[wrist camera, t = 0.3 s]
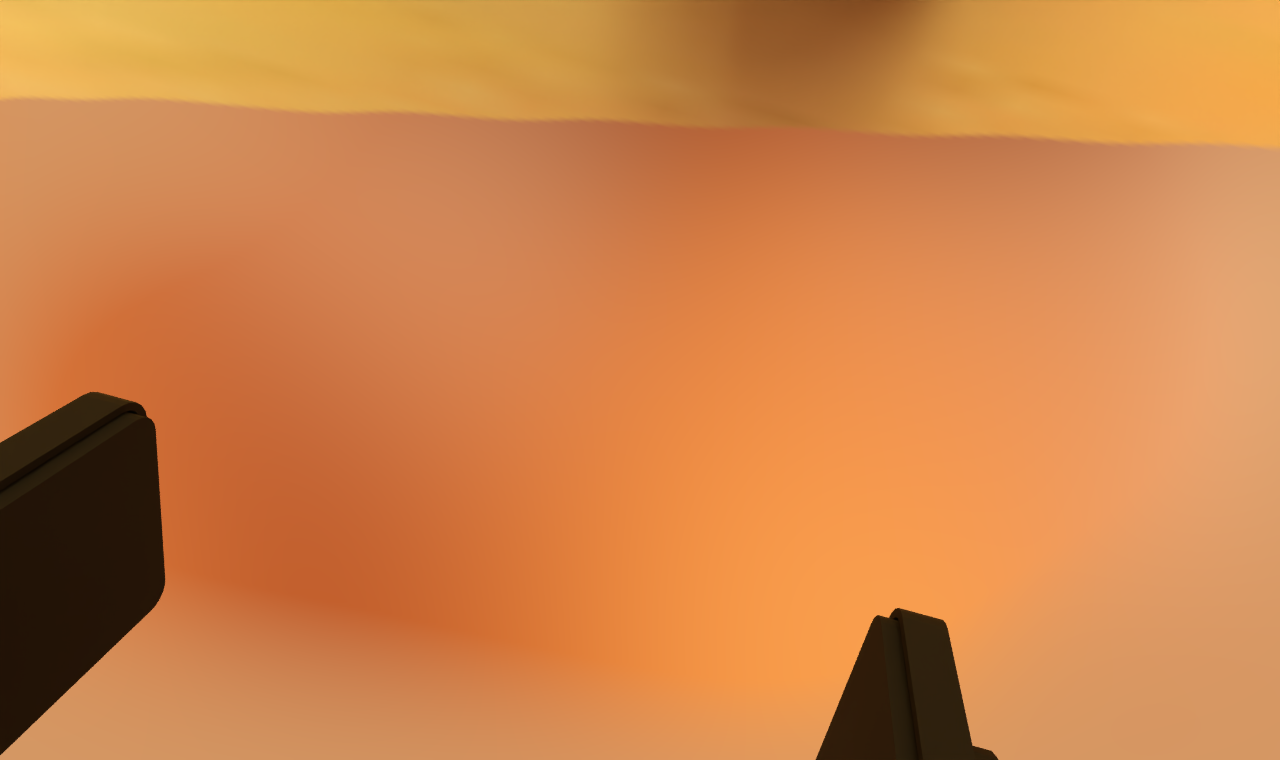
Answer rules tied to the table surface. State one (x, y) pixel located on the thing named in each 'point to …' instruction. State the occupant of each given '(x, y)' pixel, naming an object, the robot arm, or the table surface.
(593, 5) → the table surface
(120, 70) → the table surface
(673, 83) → the table surface
